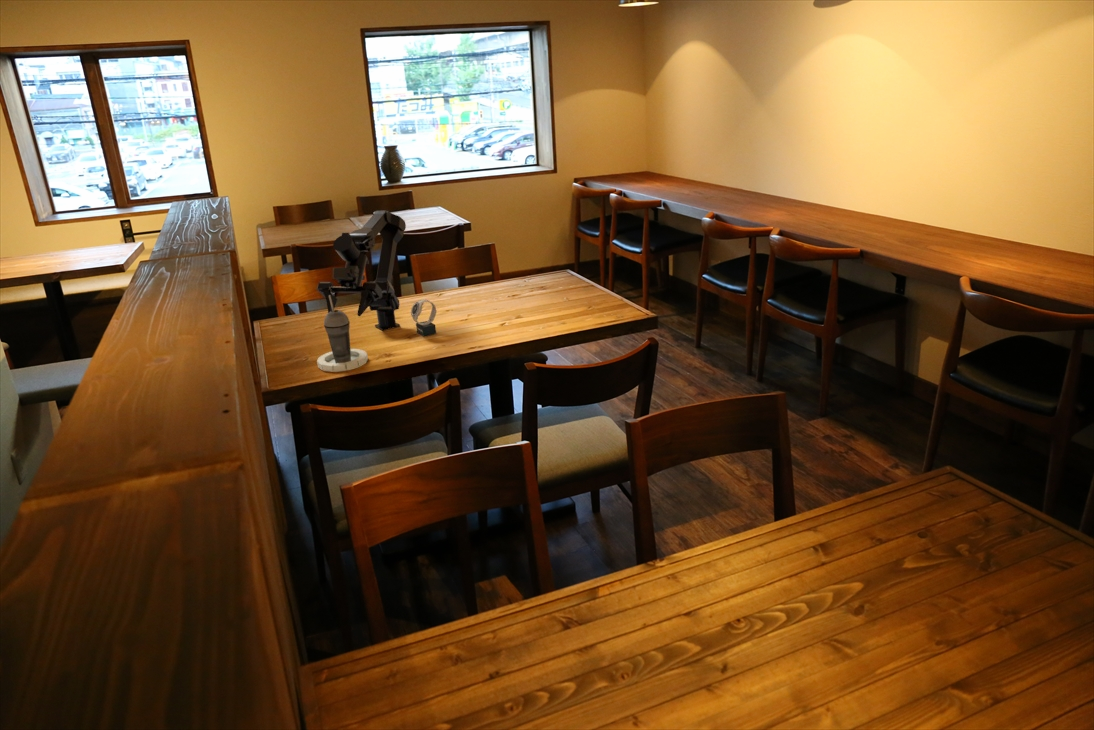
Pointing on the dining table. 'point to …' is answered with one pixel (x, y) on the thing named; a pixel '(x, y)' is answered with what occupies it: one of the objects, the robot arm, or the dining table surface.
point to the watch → (427, 326)
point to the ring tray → (328, 363)
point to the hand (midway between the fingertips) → (344, 315)
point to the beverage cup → (338, 334)
